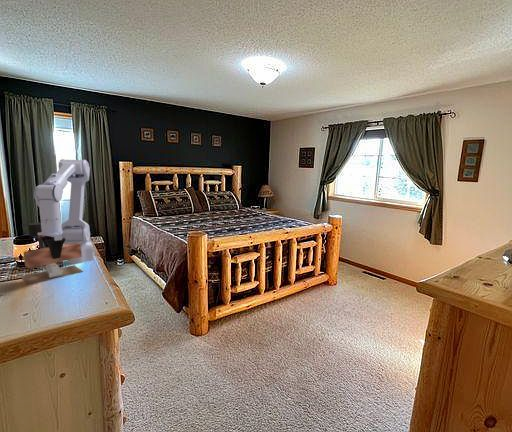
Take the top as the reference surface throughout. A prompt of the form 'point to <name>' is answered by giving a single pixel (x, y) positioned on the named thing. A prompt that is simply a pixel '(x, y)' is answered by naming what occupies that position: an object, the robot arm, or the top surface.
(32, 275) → the base board
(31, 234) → the deodorant
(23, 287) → the top surface
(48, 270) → the ridge
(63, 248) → the reddish brown wooden block
